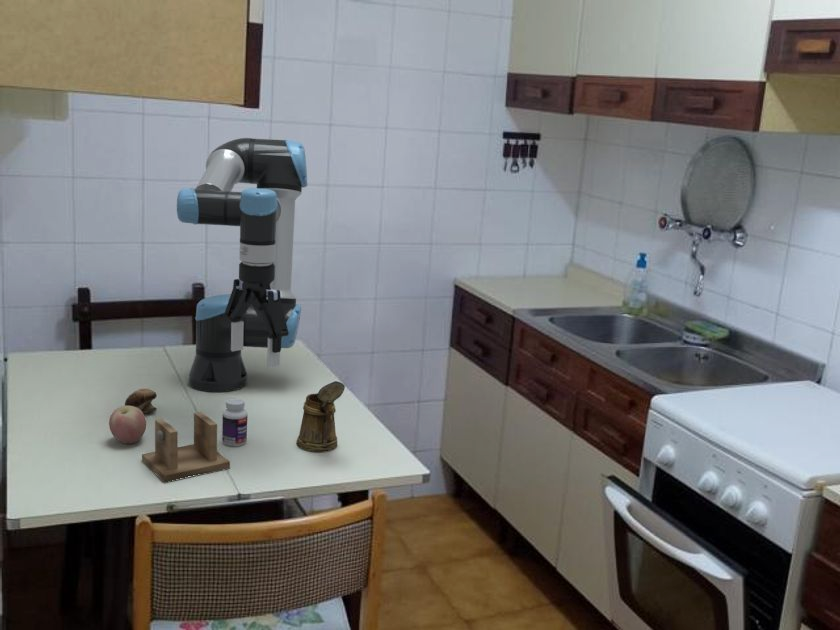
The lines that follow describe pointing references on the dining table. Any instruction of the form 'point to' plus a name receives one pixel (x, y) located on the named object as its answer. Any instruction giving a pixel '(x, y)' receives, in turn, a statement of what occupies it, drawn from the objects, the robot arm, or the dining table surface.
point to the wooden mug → (320, 419)
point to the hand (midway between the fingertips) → (254, 358)
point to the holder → (185, 451)
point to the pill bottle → (234, 423)
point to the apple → (127, 424)
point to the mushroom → (142, 400)
